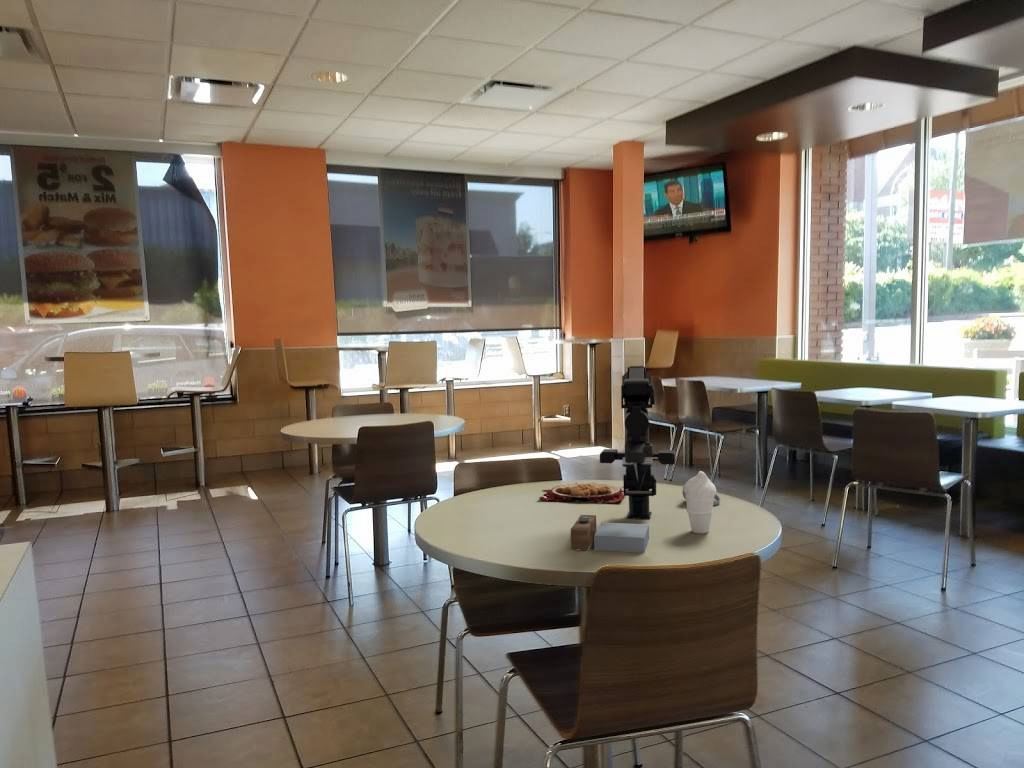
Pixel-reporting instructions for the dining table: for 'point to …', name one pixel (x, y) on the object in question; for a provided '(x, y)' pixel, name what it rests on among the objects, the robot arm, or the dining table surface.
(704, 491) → the soft serve ice cream cone
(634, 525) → the blue-grey square block
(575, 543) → the walnut bench dog
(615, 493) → the plate with food
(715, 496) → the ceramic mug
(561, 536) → the dining table surface
